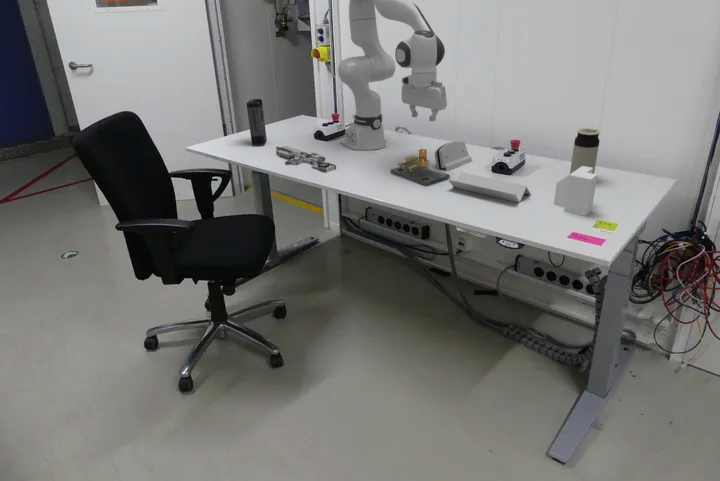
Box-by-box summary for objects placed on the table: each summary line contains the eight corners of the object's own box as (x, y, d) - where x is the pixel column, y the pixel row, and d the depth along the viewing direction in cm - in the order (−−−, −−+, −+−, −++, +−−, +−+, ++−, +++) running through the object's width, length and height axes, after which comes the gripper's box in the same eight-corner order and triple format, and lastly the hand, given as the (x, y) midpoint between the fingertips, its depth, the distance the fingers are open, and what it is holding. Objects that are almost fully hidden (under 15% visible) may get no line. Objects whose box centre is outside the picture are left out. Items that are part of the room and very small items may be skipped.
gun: (257, 151, 230) (284, 142, 239) (258, 157, 231) (285, 148, 240) (317, 171, 203) (345, 160, 212) (317, 177, 204) (345, 166, 213)
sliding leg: (407, 172, 198) (407, 153, 195) (423, 167, 202) (423, 148, 199) (412, 174, 196) (412, 154, 192) (429, 169, 200) (429, 150, 197)
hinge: (446, 171, 202) (440, 146, 200) (437, 172, 206) (431, 148, 204) (472, 161, 212) (467, 137, 210) (463, 162, 216) (458, 139, 214)
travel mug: (594, 184, 184) (603, 133, 176) (571, 183, 186) (578, 133, 177) (590, 176, 191) (598, 127, 183) (567, 176, 193) (574, 127, 184)
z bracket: (459, 195, 192) (466, 180, 193) (523, 210, 177) (531, 194, 178) (448, 179, 182) (455, 164, 183) (514, 194, 167) (522, 177, 168)
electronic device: (264, 146, 244) (258, 102, 235) (251, 146, 244) (245, 103, 235) (267, 140, 252) (262, 98, 243) (255, 141, 252) (249, 99, 243)
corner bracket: (584, 216, 161) (591, 179, 155) (549, 207, 168) (554, 172, 162) (597, 205, 168) (604, 169, 162) (563, 197, 175) (568, 163, 169)
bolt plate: (390, 173, 203) (390, 160, 201) (413, 166, 209) (413, 153, 207) (426, 186, 189) (426, 172, 186) (449, 178, 195) (450, 165, 193)
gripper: (451, 81, 180) (450, 122, 186) (411, 75, 194) (411, 113, 200) (438, 84, 176) (437, 125, 182) (398, 78, 191) (398, 116, 197)
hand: (423, 118), depth 192 cm, fingers open, 8 cm apart
